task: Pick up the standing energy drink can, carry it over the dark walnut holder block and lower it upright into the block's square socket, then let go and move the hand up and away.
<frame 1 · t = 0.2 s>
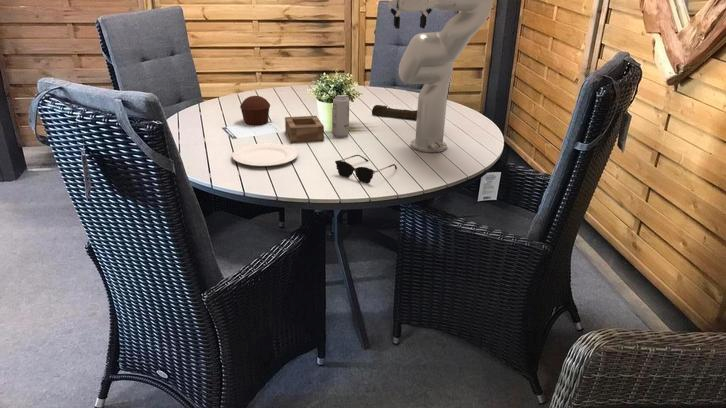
hand: (409, 28, 192), 36 cm above the table, tool pointing down, fingers open, 9 cm apart
hand tool: (394, 118, 219), on the table
sunglasses: (368, 173, 164), on the table
muffin: (256, 123, 207), on the table
plate: (265, 159, 172), on the table
energy drink can: (340, 136, 195), on the table
holder block: (304, 136, 193), on the table
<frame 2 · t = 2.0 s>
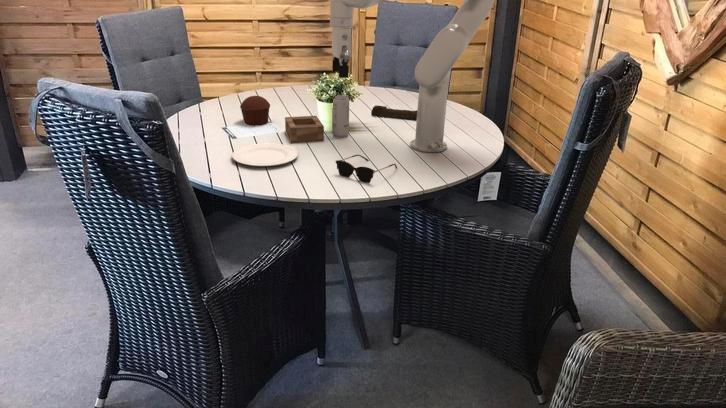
hand: (340, 74, 186), 22 cm above the table, tool pointing down, fingers open, 9 cm apart
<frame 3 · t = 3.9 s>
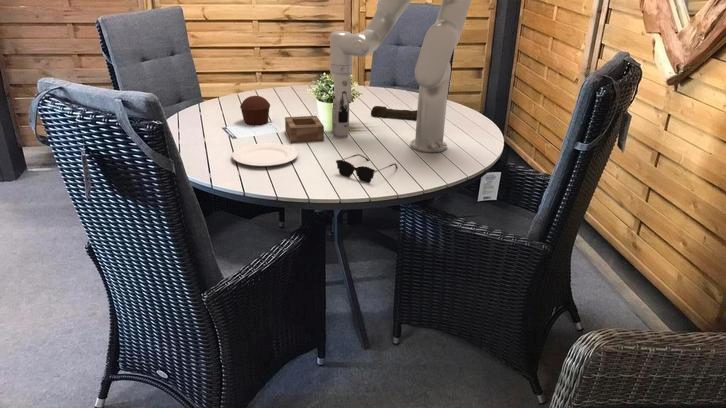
hand: (340, 119, 193), 6 cm above the table, tool pointing down, fingers closed on energy drink can, 6 cm apart
energy drink can: (340, 136, 195), on the table, touching gripper
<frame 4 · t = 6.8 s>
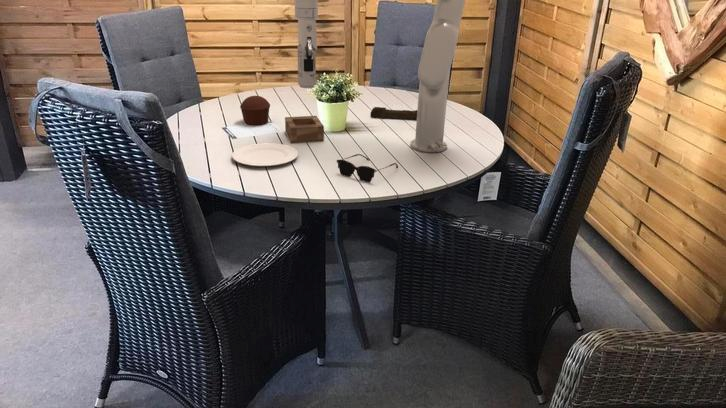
hand: (306, 68, 183), 24 cm above the table, tool pointing down, fingers closed on energy drink can, 6 cm apart
energy drink can: (306, 87, 186), point 18 cm above the table, touching gripper
when the fingers open (8 cm above the table, at t = 9.7 s): energy drink can stays where it is, resting on holder block.
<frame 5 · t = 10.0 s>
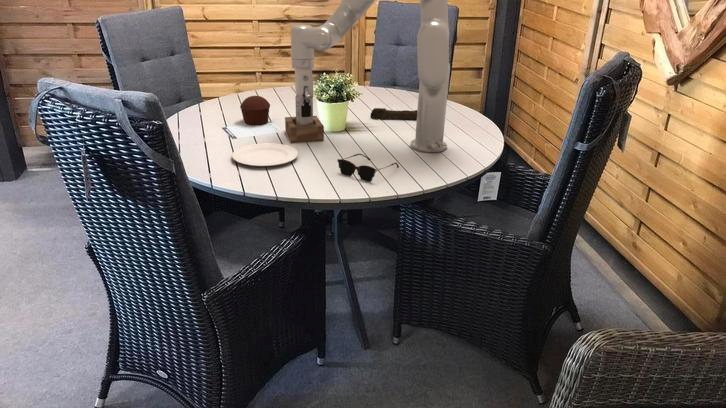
hand: (303, 113, 190), 9 cm above the table, tool pointing down, fingers open, 8 cm apart
energy drink can: (304, 134, 193), point 1 cm above the table, touching holder block
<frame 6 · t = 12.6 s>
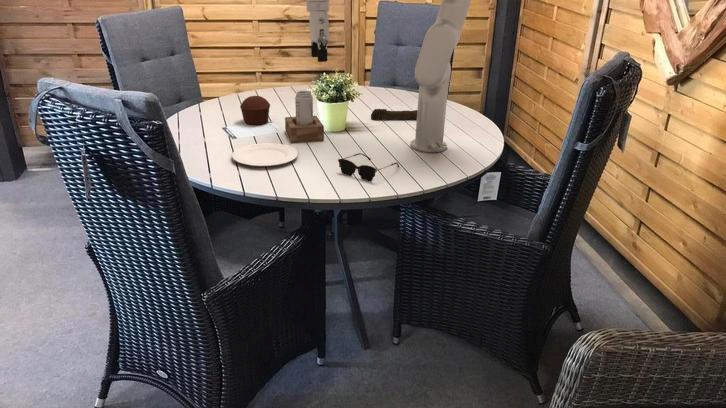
hand: (319, 59, 186), 27 cm above the table, tool pointing down, fingers open, 9 cm apart
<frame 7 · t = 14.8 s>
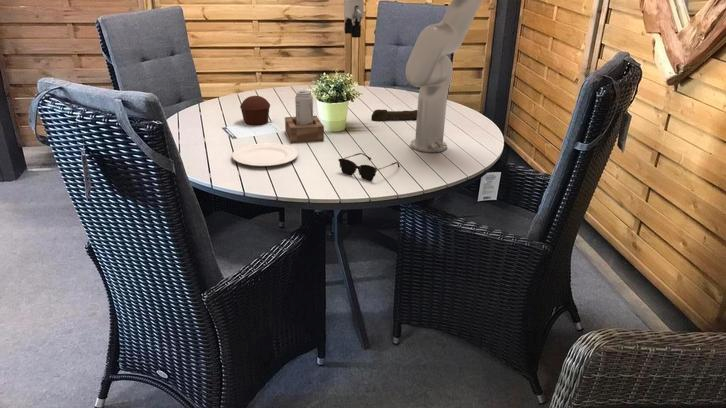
hand: (352, 35, 193), 33 cm above the table, tool pointing down, fingers open, 9 cm apart
at the end: energy drink can 0.2 cm off-centre on the holder block, point 0.8 cm above the holder block's base; energy drink can tilted 0°; the gripper is holding nothing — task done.
